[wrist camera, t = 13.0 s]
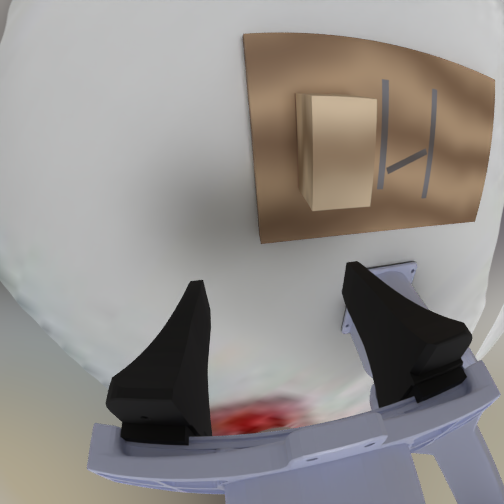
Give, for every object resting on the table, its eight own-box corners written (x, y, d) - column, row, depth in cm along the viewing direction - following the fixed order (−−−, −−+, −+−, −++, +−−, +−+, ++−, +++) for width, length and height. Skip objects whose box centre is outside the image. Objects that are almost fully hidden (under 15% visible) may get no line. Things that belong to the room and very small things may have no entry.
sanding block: (347, 184, 20) (370, 206, 17) (297, 187, 20) (312, 211, 17) (349, 94, 16) (376, 99, 13) (294, 93, 16) (311, 95, 13)
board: (468, 216, 24) (474, 221, 23) (259, 236, 24) (261, 244, 23) (486, 78, 15) (494, 79, 14) (242, 36, 15) (243, 33, 14)
